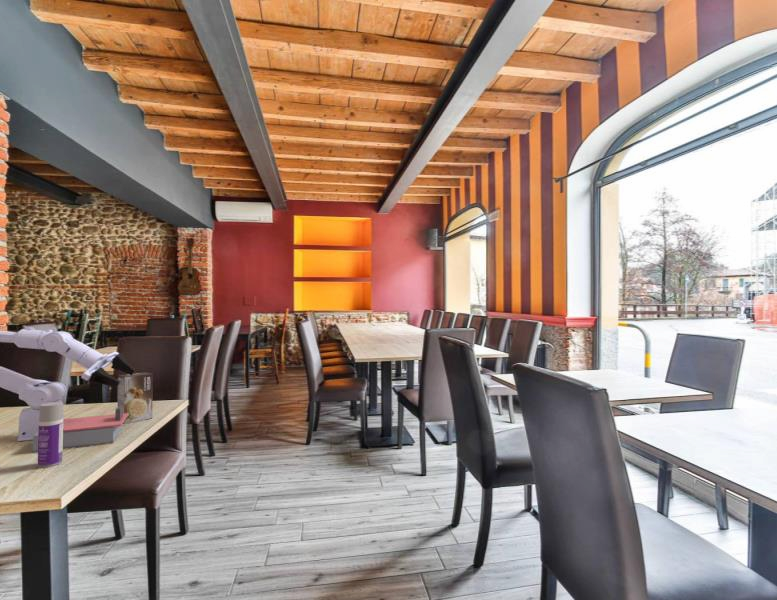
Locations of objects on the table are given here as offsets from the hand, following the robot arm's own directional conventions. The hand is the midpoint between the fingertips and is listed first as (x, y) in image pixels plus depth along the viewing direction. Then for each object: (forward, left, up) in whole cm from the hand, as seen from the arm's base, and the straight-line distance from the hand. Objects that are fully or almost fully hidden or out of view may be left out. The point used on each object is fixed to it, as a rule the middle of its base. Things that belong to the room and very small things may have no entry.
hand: (126, 378), depth 125 cm
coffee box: (+1, +13, -17) cm, 21 cm away
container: (-12, -25, -17) cm, 32 cm away
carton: (-10, -6, -17) cm, 20 cm away
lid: (-8, -6, -12) cm, 16 cm away
